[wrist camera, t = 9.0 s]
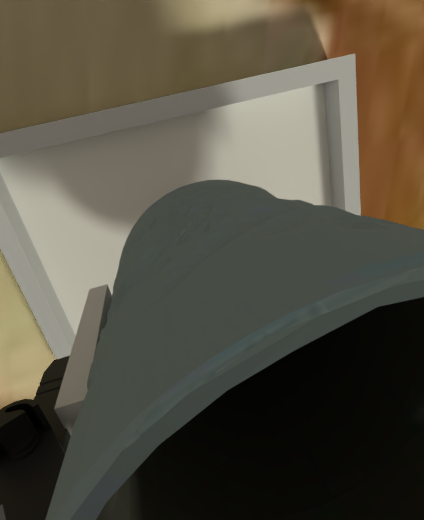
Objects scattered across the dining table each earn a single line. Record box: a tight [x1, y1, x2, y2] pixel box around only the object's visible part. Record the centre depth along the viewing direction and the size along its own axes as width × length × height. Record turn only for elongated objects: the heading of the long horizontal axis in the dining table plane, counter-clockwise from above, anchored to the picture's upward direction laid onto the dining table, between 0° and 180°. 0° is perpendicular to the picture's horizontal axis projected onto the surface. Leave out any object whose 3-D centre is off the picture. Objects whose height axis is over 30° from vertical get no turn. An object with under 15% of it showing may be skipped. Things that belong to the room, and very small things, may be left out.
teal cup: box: [45, 180, 424, 520], centre depth 10 cm, size 10×10×12 cm
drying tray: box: [0, 54, 361, 359], centre depth 20 cm, size 20×16×2 cm
